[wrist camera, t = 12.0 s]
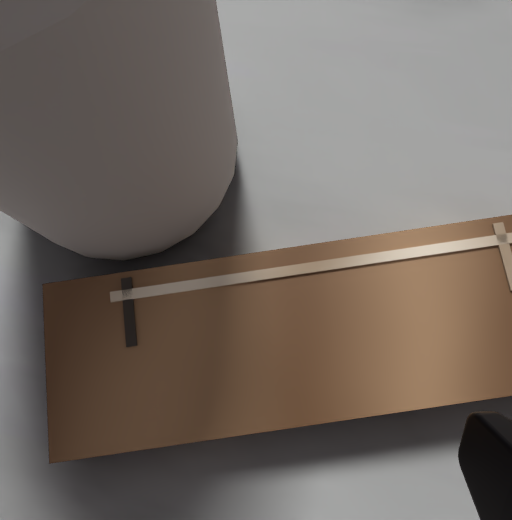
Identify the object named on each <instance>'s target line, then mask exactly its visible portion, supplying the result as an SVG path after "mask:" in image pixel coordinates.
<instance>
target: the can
mask: <svg viewBox="0 0 512 520" xmlns="http://www.w3.org/2000/svg"><path fill="white" fill-rule="evenodd" d="M237 145H238V139H237V133H236V126H235V120H234V114H233V107H232V101H231V94H230V88H229V82H228V75H227V69H226V62H225V56H224V50H223V43H222V37H221V30H220V24H219V18H218V11H217V5H216V0H0V211H2V212H4V213H5V214H7V215H9V216H10V217H12V218H14V219H15V220H17V221H19V222H20V223H22V224H24V225H25V226H27V227H29V228H30V229H32V230H34V231H35V232H37V233H39V234H40V235H42V236H44V237H45V238H47V239H49V240H50V241H52V242H54V243H55V244H58V245H60V246H62V247H65V248H67V249H69V250H72V251H74V252H76V253H79V254H81V255H83V256H85V257H89V258H101V259H113V260H129V259H133V258H137V257H142V256H146V255H151V254H155V253H160V252H162V251H164V250H166V249H168V248H169V247H171V246H173V245H175V244H176V243H178V242H180V241H182V240H183V239H185V238H187V237H189V236H190V235H192V234H194V233H195V232H196V231H197V230H198V229H199V228H200V226H201V225H202V224H203V223H204V222H205V221H206V220H207V219H208V218H209V217H210V216H211V215H212V214H213V213H214V211H215V210H216V209H217V208H218V207H219V206H220V204H221V201H222V199H223V197H224V195H225V193H226V191H227V189H228V187H229V185H230V182H231V180H232V178H233V176H234V171H235V163H236V154H237Z"/></svg>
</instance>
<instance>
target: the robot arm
mask: <svg viewBox="0 0 512 520" xmlns="http://www.w3.org/2000/svg"><path fill="white" fill-rule="evenodd" d="M458 458H459V464H460V467H461V470H462V473H463V475H464V478H465V481H466V483H467V486H468V488H469V491H470V494H471V496H472V499H473V502H474V504H475V507H476V510H477V512H478V515H479V517H480V520H512V420H510V419H508V418H507V417H505V416H503V415H502V414H500V413H498V412H493V411H488V412H473V413H471V414H470V415H469V416H468V418H467V421H466V424H465V428H464V432H463V435H462V439H461V443H460V446H459V451H458Z"/></svg>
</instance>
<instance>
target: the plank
mask: <svg viewBox="0 0 512 520" xmlns="http://www.w3.org/2000/svg"><path fill="white" fill-rule="evenodd" d="M43 310H44V336H45V362H46V389H47V415H48V441H49V464H50V463H57V462H64V461H70V460H77V459H84V458H91V457H98V456H104V455H111V454H118V453H125V452H132V451H139V450H145V449H152V448H159V447H166V446H173V445H179V444H186V443H193V442H200V441H207V440H214V439H220V438H227V437H234V436H241V435H248V434H254V433H261V432H268V431H275V430H282V429H289V428H295V427H302V426H309V425H316V424H323V423H329V422H336V421H343V420H350V419H357V418H364V417H370V416H377V415H384V414H391V413H398V412H405V411H411V410H418V409H425V408H432V407H439V406H445V405H452V404H459V403H466V402H473V401H480V400H486V399H493V398H500V397H507V396H512V215H507V216H500V217H493V218H487V219H480V220H473V221H466V222H459V223H453V224H446V225H439V226H432V227H426V228H419V229H412V230H405V231H399V232H392V233H385V234H378V235H371V236H365V237H358V238H351V239H344V240H338V241H331V242H324V243H317V244H310V245H304V246H297V247H290V248H283V249H277V250H270V251H263V252H256V253H249V254H243V255H236V256H229V257H222V258H216V259H209V260H202V261H195V262H189V263H182V264H175V265H168V266H161V267H155V268H148V269H141V270H134V271H128V272H121V273H114V274H107V275H100V276H94V277H87V278H80V279H73V280H67V281H60V282H53V283H46V284H43Z"/></svg>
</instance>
